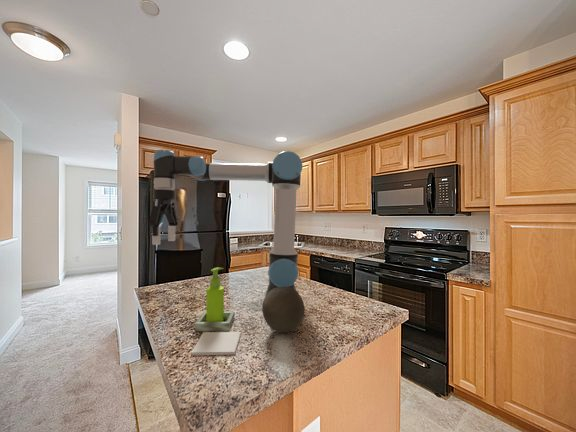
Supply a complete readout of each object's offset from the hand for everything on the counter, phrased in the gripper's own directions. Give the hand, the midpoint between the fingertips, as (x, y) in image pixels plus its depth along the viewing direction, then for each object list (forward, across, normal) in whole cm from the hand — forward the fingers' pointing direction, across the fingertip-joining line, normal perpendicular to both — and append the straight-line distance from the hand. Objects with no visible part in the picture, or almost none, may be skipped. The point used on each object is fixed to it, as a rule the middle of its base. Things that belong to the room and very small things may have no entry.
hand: (164, 242), depth 101 cm
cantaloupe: (+28, +18, +47) cm, 58 cm away
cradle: (+28, +12, +23) cm, 38 cm away
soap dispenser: (+28, +12, +23) cm, 38 cm away
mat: (+28, +26, +27) cm, 47 cm away
